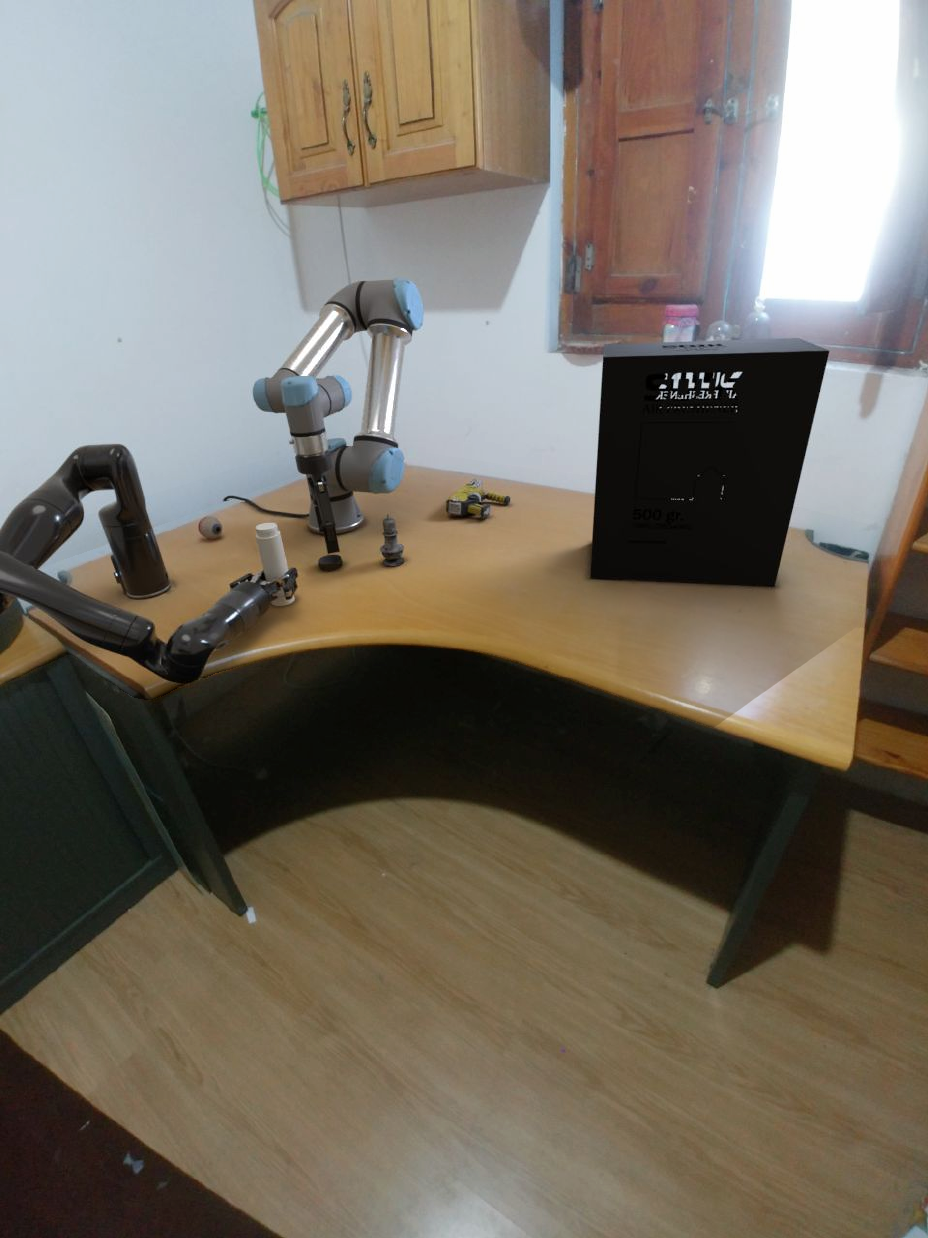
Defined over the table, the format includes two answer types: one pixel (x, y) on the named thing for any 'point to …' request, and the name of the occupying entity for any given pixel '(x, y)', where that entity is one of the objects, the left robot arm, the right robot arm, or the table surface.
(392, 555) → the grey stepped tapered figure
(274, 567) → the jar
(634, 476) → the cardboard box
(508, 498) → the toy gun
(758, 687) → the table surface
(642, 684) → the table surface
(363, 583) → the table surface
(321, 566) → the lid
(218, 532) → the eyeball
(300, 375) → the right robot arm
